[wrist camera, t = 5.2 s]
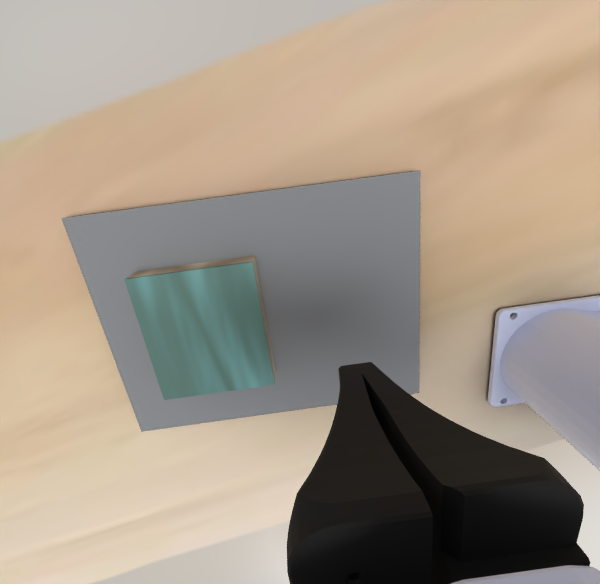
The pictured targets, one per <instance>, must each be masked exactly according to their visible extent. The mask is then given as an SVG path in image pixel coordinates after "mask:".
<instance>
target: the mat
mask: <svg viewBox="0 0 600 584" xmlns="http://www.w3.org/2000/svg"><path fill="white" fill-rule="evenodd" d="M62 221H63V224H64V226H65V229H66V232H67V234H68V237H69V240H70V242H71V245H72V248H73V250H74V253H75V256H76V258H77V261H78V264H79V266H80V269H81V271H82V274H83V277H84V279H85V282H86V285H87V287H88V290H89V293H90V295H91V298H92V301H93V303H94V306H95V309H96V311H97V314H98V317H99V319H100V322H101V325H102V327H103V330H104V333H105V335H106V338H107V341H108V343H109V346H110V349H111V351H112V354H113V357H114V359H115V362H116V365H117V367H118V370H119V373H120V375H121V378H122V381H123V383H124V386H125V389H126V391H127V394H128V397H129V399H130V402H131V405H132V407H133V410H134V413H135V415H136V418H137V421H138V423H139V426H140V429H141V431H149V430H157V429H164V428H171V427H178V426H185V425H192V424H199V423H207V422H214V421H221V420H228V419H235V418H242V417H249V416H257V415H264V414H271V413H278V412H285V411H292V410H299V409H306V408H314V407H321V406H328V405H335V404H338V399H339V391H340V380H339V370H338V369H339V368H340V366H344V365H351V364H359V363H366V362H372V363H373V364H374V365H375V366H377V367H378V368H379V369H380V370H381V371H382V372H383V373H384V374H385V375H387V376H388V377H389V378H390V379H391V380H392V381H393V382H395V383H396V384H397V385H398V386H400V387H401V388H402V389H403V390H404V391H406V392H407V393H408V394H414V393H419V326H420V171H411V172H404V173H396V174H389V175H381V176H374V177H366V178H358V179H351V180H343V181H336V182H328V183H321V184H313V185H306V186H298V187H291V188H283V189H276V190H268V191H261V192H253V193H246V194H238V195H230V196H223V197H215V198H208V199H200V200H193V201H185V202H178V203H170V204H163V205H155V206H148V207H140V208H133V209H125V210H117V211H110V212H102V213H95V214H87V215H80V216H72V217H66V218H62ZM247 256H255V259H256V265H257V270H258V276H259V281H260V287H261V293H262V298H263V304H264V310H265V315H266V321H267V327H268V332H269V338H270V344H271V349H272V355H273V361H274V366H275V385H269V386H262V387H255V388H248V389H241V390H233V391H226V392H219V393H212V394H205V395H198V396H190V397H183V398H176V399H169V400H164V398H163V395H162V392H161V389H160V386H159V383H158V380H157V377H156V374H155V371H154V368H153V365H152V362H151V359H150V356H149V353H148V350H147V347H146V344H145V341H144V338H143V335H142V332H141V329H140V326H139V323H138V320H137V317H136V314H135V311H134V308H133V305H132V302H131V299H130V296H129V293H128V290H127V286H126V283H125V280H124V279H126V278H127V277H129V276H130V275H132V274H134V273H135V272H137V271H143V270H151V269H158V268H166V267H173V266H180V265H188V264H195V263H203V262H210V261H218V260H225V259H232V258H240V257H247Z"/></svg>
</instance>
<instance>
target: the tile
mask: <svg viewBox="0 0 600 584" xmlns="http://www.w3.org/2000/svg"><path fill="white" fill-rule="evenodd" d="M124 280H125V283H126V286H127V290H128V293H129V296H130V299H131V302H132V305H133V308H134V311H135V314H136V317H137V320H138V323H139V326H140V329H141V332H142V335H143V338H144V341H145V344H146V347H147V350H148V353H149V356H150V359H151V362H152V365H153V368H154V371H155V374H156V377H157V380H158V383H159V386H160V389H161V392H162V395H163V398H164V400H169V399H176V398H183V397H190V396H198V395H205V394H212V393H219V392H226V391H233V390H241V389H248V388H255V387H262V386H269V385H275V366H274V361H273V355H272V349H271V344H270V338H269V332H268V327H267V321H266V315H265V310H264V304H263V298H262V293H261V287H260V281H259V276H258V270H257V265H256V259H255V256H247V257H240V258H232V259H225V260H218V261H210V262H203V263H195V264H188V265H180V266H173V267H166V268H158V269H151V270H143V271H137V272H135V273H134V274H132V275H130V276H129V277H127V278H126V279H124Z"/></svg>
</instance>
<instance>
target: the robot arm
mask: <svg viewBox="0 0 600 584" xmlns="http://www.w3.org/2000/svg"><path fill="white" fill-rule="evenodd" d="M512 313H513V315H512V316H511V317H510V315H511V314H512ZM338 370H339V380H340V391H339V399H338V404H337V409H336V413H335V417H334V421H333V424H332V427H331V430H330V433H329V435H328V438H327V440H326V443H325V445H324V448H323V450H322V452H321V454H320V456H319V458H318V460H317V462H316V464H315V466H314V467H313V469H312V471H311V473H310V474H309V476H308V478H307V479H306V481H305V482H304V484H303V485H302V487H301V488H300V490H299V491H298V493H297V496H296V499H295V503H294V507H293V511H292V515H291V520H290V525H289V532H288V540H287V566H288V576H289V580H290V584H600V571H599V570H597V569H595V568H593V567H590V566H589V565H590V561H589V558H588V557H587V556H586V554H585V553H584V552H583V551H582V549H581V548H580V547H579V546H578V545H577V543H576V542H577V538H578V534H579V530H580V526H581V523H582V518H583V507H584V504H583V502H582V499H581V496H580V495H579V494H578V493H577V492H576V490H575V489H573V487H572V486H571V485H570V484H569V483H568V482H567V481H566V479H564V477H563V476H562V475H561V474H560V473H559V472H558V471H557V470H556V469H555V468H554V467H553V466H552V465H551V464H550V463H549V462H548V461H546V459H544V458H542V457H539V456H536V455H533V454H529V453H527V452H524V451H521V450H518V449H515V448H512V447H509V446H506V445H504V444H501V443H499V442H496V441H494V440H491V439H489V438H486V437H484V436H482V435H479V434H477V433H475V432H473V431H470V430H468V429H466V428H464V427H462V426H460V425H458V424H456V423H454V422H452V421H450V420H449V419H447V418H445V417H443V416H442V415H440V414H438V413H437V412H435V411H433V410H431V409H430V408H428V407H427V406H425V405H424V404H422V403H421V402H419V401H418V400H416V399H415V398H414V397H412V396H411V395H410V394H408V393H407V392H406V391H404V390H403V389H402V388H401V387H400V386H398V385H397V384H396V383H395V382H393V381H392V380H391V379H390V378H389V377H388V376H387V375H385V374H384V373H383V372H382V371H381V370H380V369H379V368H378V367H377V366H375V365H374V364H373V363H372V362H366V363H359V364H351V365H344V366H340V368H339V369H338ZM501 399H502V400H501ZM488 402H489V404H490V405H491V406H493V407H499V406H506V405H513V404H521V403H526V404H527V405H528V406H529V407H531V408H532V409H533V410H534V411H535V412H536V413H537V414H538V415H539V416H540V417H541V418H543V419H544V420H545V421H546V422H547V423H548V424H549V425H550V426H551V427H552V428H553V429H555V430H556V431H557V432H558V433H559V434H560V435H561V436H562V437H563V438H564V439H566V440H567V441H568V442H569V443H570V444H571V445H572V446H573V447H574V448H575V449H576V450H577V451H579V452H580V453H581V454H582V455H583V456H584V457H585V458H586V459H587V460H588V461H590V462H591V463H592V464H593V465H594V466H595V467H596V468H597V469H598V470H600V295H597V296H590V297H582V298H575V299H568V300H561V301H553V302H546V303H539V304H532V305H524V306H517V307H510V308H503V309H500V310H499V311H498V312H497V314H496V318H495V329H494V339H493V350H492V360H491V371H490V381H489V391H488Z"/></svg>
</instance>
